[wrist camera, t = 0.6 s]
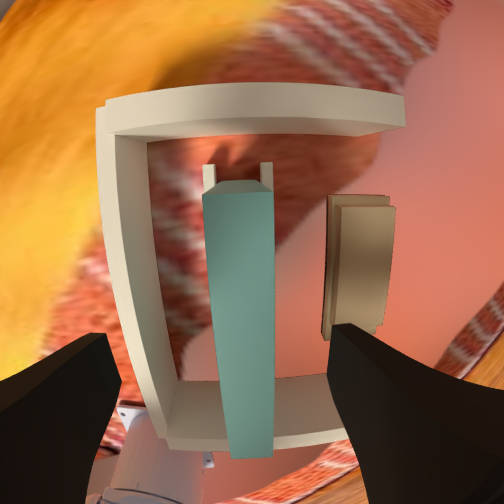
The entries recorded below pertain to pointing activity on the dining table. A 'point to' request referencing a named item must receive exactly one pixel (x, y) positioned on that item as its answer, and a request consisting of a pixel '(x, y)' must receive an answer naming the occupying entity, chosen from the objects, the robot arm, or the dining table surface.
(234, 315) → the teal panel
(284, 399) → the rack
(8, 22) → the dining table surface
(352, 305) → the block
